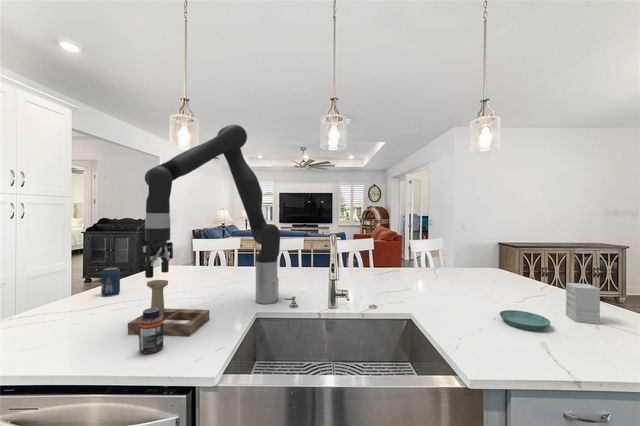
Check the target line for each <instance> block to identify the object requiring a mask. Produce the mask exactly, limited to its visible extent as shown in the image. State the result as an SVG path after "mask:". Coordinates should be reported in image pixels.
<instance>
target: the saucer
mask: <svg viewBox="0 0 640 426" xmlns="http://www.w3.org/2000/svg"><path fill="white" fill-rule="evenodd" d="M498 313H499V316H500V317H501V319H503V321H504V322H505V323H507V324H508V325H509V326H512V327H513V328H518V329H522V330H524V331H525V330H526V331H542V330H544V329H546V328H547V327H549V326H550V324H551V321H550V319H549V318H547V317H546V316H545V317H544V316H542V315H540V314H537V313H534V312H529V311H523V310H516V309H515V310H514V309H513V310H512V309H507V310H505V309H504V310H502V311H500V312H498Z"/></svg>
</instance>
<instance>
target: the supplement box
mask: <svg viewBox="0 0 640 426" xmlns="http://www.w3.org/2000/svg"><path fill="white" fill-rule="evenodd" d="M600 305H601V289H600V288H599V287H596V286H594V285H592V284H589V283H578V282H576V283H575V282H566V283H565V315H566V316H567V317H568V318H569V319H570V320H572V321H573V322H576V323H583V324H584V323H586V324H595V325H600V324H601V322H600V321H601V318H600V317H601V306H600Z"/></svg>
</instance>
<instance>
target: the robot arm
mask: <svg viewBox="0 0 640 426" xmlns="http://www.w3.org/2000/svg"><path fill="white" fill-rule="evenodd" d="M247 140H248V133H247V132H246V130H245V128H244V127H242V126H241V125H239V124H229V125H227V126H224V127H223V128H221V129H219V131H218V132H217V134H216V136H215V137H213V138H211V139H209V140H208V141H205V142H203V143H200V144H198V145H196V146H194V147H192V148H191V147H190V148H189V149H187V150H185V151H183V152H181V153H179V154H177V155H175V156H173V157H172V158H171V159H169V160H167V161H166V162H163V163H161V164H159V165H157V166H154V167H152V168H150V169H148V170H147V171H146V173H145V174H144V181H145V183H146V185H148V196H147V197H146V200H145V201H146V203H145V217H144V218H145V220H144V241H145V242H148V244H147V245H141V246H140V257H139V258H140V259H139V260H140V261H139V265H140V266H143V267H144V271H145V272H144V274H145V275H144V276H145V278H146V279H152V278H154V264H155V262H156V261H158V258H159V259H160V260H161V262H160V263H161V266H160V267H161V269H160V271H161V273H162V274H163V273H169V269H170V268H169V266H170V265H169V263H170V261H171V259H172V260H173V258H174V248H173V247H174V244H173V241H170V240H171V215H170V213H171V209H170V208H171V207H170V206H171V204H170V203H171V202H170V200H171V199H170V198H171V193H172V187H173V182H174V181H175V180H176V179H179V178H180V177H184V176H186V175H189V174H190V173H192V172H193V171H195V170H197V169H199V168H200V167H202V166H203V165H205V164H207V163H208V162H210V161H212V160H213V159H215V158H217V157H219V156H221V155H223V156H224V158H225V161H226V162H227V164H228V167H229V170H230V173H231V176H232V178H233V181H234V184H235V187H236V190H237V192H238V195H239V199H240V200H241V203H242V206H243V208H244V212H245V214H246V217H247V220H248V224H249V228H250V231H251V235H252V237H253V240H254V241H255V242H256V244H258V245H260V250H259V252H258V253H257V254H256V255H255V302H256V304H263V305H266V304H267V305H268V304H276V303H277V302H278V300H279V277H278V258H279V254H280V249H281V247H280V246H281V231H280V229H279V227H278V226H277V225H275V224H273V223H267V222H266V219H265V217H264V213H263V191H262V188H261V185H260V182H259V180H258V177H257V175H256V174H255V172H254V171H253V170H252V168H251V167H250V166H249V164H248V163H247V162H246V160H245V158H244V156H243V152H242V148H243V146H245V145H246V142H247Z"/></svg>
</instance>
